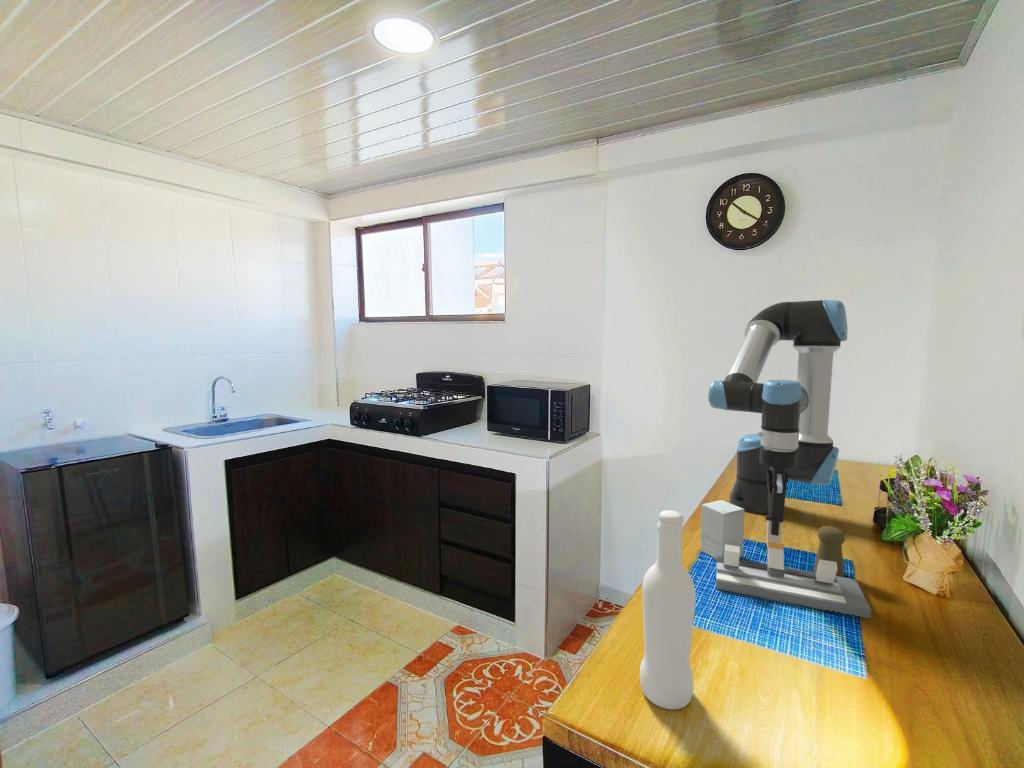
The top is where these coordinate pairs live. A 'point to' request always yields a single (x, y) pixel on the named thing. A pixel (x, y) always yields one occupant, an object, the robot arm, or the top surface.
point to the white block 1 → (731, 556)
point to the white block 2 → (826, 572)
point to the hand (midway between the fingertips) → (773, 545)
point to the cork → (831, 547)
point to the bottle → (668, 620)
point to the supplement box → (721, 527)
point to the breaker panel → (793, 587)
